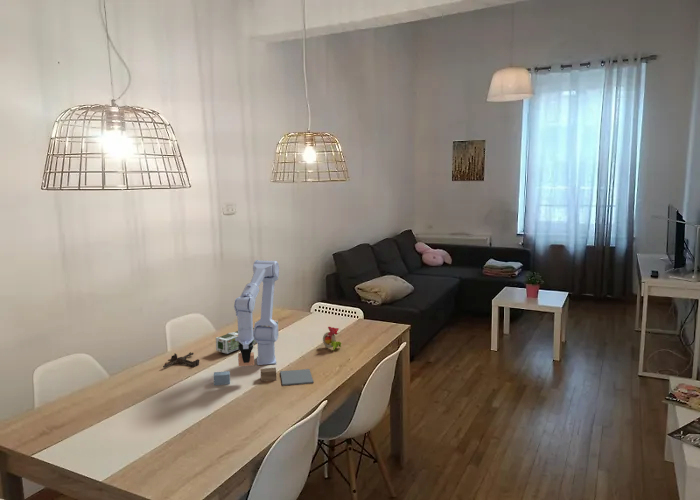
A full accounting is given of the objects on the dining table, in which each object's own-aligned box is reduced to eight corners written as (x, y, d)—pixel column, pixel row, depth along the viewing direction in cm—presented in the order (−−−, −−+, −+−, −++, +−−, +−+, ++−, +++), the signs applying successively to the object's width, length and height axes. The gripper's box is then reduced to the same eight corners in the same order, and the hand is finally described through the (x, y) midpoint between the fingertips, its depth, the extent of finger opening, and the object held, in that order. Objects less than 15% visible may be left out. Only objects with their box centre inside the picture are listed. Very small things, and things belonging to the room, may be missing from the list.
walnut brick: (260, 378, 208) (260, 368, 208) (275, 376, 210) (275, 367, 209) (261, 381, 205) (260, 372, 204) (276, 380, 206) (276, 370, 206)
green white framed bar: (266, 332, 265) (265, 318, 264) (278, 335, 261) (278, 320, 259) (213, 352, 236) (213, 337, 235) (227, 356, 232) (226, 340, 230)
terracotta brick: (238, 363, 206) (238, 353, 205) (254, 361, 207) (253, 352, 206) (238, 366, 202) (238, 356, 202) (254, 365, 203) (253, 355, 203)
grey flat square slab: (280, 372, 213) (280, 371, 213) (309, 370, 216) (309, 368, 216) (282, 385, 201) (282, 384, 201) (313, 383, 203) (313, 381, 203)
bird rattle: (323, 354, 240) (338, 350, 235) (315, 331, 241) (330, 326, 236) (330, 350, 245) (345, 346, 240) (322, 328, 246) (337, 323, 241)
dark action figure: (181, 367, 212) (154, 358, 218) (181, 377, 213) (154, 368, 219) (211, 353, 228) (185, 345, 234) (210, 362, 229) (185, 354, 235)
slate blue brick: (214, 381, 205) (213, 372, 204) (230, 380, 206) (229, 371, 205) (213, 385, 201) (213, 375, 201) (229, 384, 203) (229, 374, 202)
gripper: (235, 322, 208) (236, 354, 210) (234, 333, 194) (235, 368, 196) (253, 321, 210) (254, 353, 212) (253, 332, 196) (254, 366, 198)
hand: (246, 360), depth 204 cm, fingers closed on terracotta brick, 3 cm apart
